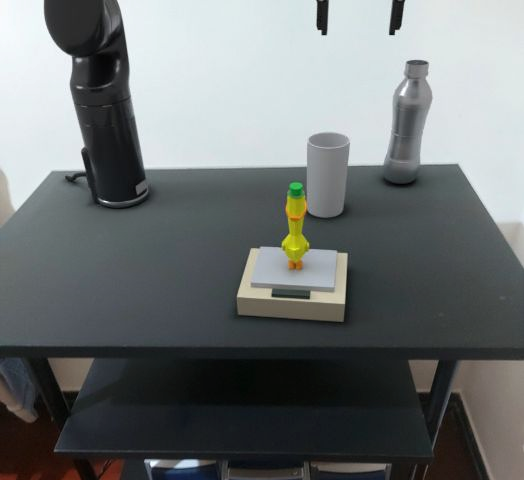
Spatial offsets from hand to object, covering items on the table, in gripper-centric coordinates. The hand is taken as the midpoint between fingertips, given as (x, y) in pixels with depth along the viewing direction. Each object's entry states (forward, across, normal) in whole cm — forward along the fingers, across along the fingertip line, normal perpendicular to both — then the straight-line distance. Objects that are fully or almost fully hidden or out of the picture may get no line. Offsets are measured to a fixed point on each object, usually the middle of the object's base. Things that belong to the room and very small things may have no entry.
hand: (357, 34), depth 69 cm
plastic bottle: (+28, -10, -19) cm, 36 cm away
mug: (+28, +3, -8) cm, 30 cm away
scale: (+28, +6, +18) cm, 34 cm away
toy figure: (+24, +6, +17) cm, 30 cm away
